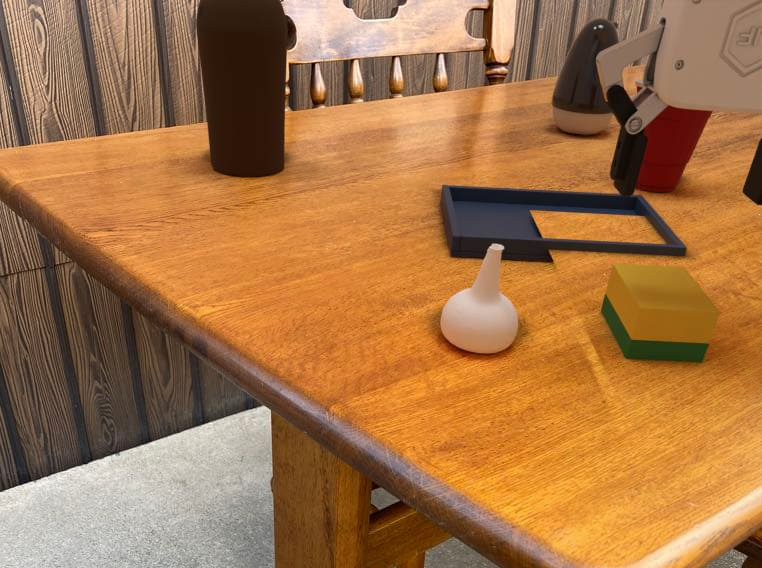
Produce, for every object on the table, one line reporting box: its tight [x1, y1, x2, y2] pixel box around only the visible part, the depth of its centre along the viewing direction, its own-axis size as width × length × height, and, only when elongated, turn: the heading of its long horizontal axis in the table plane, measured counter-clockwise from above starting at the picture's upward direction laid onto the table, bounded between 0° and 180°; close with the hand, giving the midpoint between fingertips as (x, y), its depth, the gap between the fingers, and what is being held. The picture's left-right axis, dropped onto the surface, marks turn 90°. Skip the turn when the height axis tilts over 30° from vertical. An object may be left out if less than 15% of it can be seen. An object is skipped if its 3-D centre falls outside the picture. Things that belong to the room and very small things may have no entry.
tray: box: [439, 184, 688, 263], centre depth 86 cm, size 24×18×2 cm
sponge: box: [600, 263, 721, 364], centre depth 63 cm, size 9×6×5 cm, turn 179°
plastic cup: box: [634, 78, 714, 193], centre depth 99 cm, size 11×11×12 cm
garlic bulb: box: [440, 244, 519, 354], centre depth 62 cm, size 6×6×8 cm
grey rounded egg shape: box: [550, 17, 620, 135], centre depth 120 cm, size 10×10×15 cm
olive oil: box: [195, 0, 289, 177], centre depth 93 cm, size 11×11×25 cm
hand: (688, 195), depth 57 cm, fingers open, 9 cm apart
